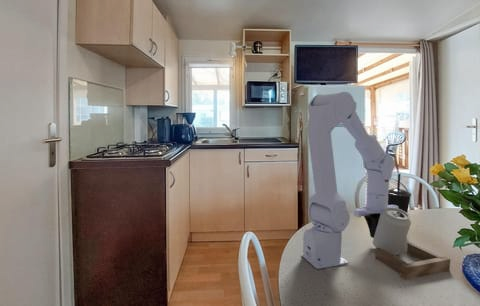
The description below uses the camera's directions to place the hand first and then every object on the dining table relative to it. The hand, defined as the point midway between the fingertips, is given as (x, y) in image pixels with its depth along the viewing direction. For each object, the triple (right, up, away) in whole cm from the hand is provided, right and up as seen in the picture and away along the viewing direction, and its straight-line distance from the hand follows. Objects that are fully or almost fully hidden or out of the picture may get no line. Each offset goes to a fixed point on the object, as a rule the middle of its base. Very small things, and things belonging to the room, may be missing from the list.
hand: (375, 237), depth 84 cm
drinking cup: (+12, -2, +11) cm, 17 cm away
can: (+1, -2, -4) cm, 5 cm away
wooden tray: (+3, -4, -11) cm, 12 cm away
